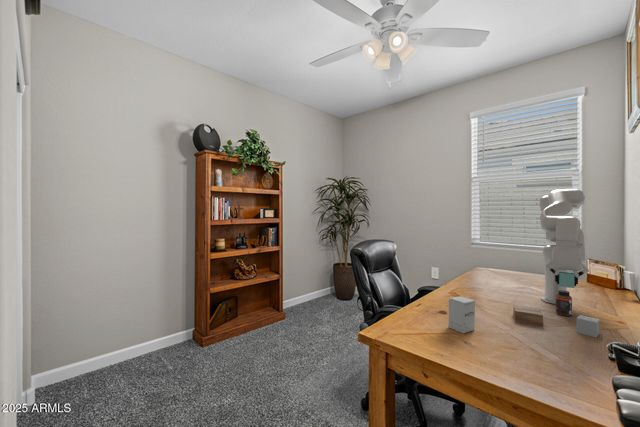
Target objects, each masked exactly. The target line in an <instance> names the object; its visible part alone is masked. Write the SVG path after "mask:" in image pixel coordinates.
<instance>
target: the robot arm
mask: <svg viewBox="0 0 640 427" xmlns="http://www.w3.org/2000/svg"><path fill="white" fill-rule="evenodd" d="M585 198H586V196H585V194H584V191H583V190H582V189H578V188H573V189H572V188H565V189H564V188H563V189H555V190H552V191H550V192H549V193H548V195H544V196H542V197H540V198H539V207H540V211H541V213H540V217H539V220H540V227H541V229H542V230H543V231H544V232H545V238H546V240H547V242H549V243H553V244H547V245H545V246H543V248H542V254H543V259H544V260H543V261H544V296H540V300H541V301H542V302H545V303H548V304H553V305H556V295H557V294H559V290H564V291H568V287H562V286H559V271H564V272H568V271H572V272H573V273H574V287H577V285H579V278H580V277H582V275H584V274H586V273H588V272H589V271H590V269H589V268H587V266H585V265H584V264H583V263H584V262H585V261H586V248H585V245H586V244H585V236H584V232H583V230H582V228H581V220H579V218H578V217H576V216H572V215H571V216H570V215H569V216H568V214H570V212H571V211H573V210H578V209H580V208H581V206H582V205H583V204H585V200H586V199H585ZM554 243H555V244H554Z"/></svg>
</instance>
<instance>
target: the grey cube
mask: <svg viewBox="0 0 640 427" xmlns="http://www.w3.org/2000/svg"><path fill="white" fill-rule="evenodd" d="M575 328H576V330H575V331H576V333H578V334H581V335H584V336H585V335H586V336H590V337H594V338H598V336H599V335H600V318H596V317H591V316H585V315H583V314H579V315H577V317H576V327H575Z"/></svg>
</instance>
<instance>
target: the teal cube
mask: <svg viewBox="0 0 640 427" xmlns="http://www.w3.org/2000/svg"><path fill="white" fill-rule="evenodd" d="M559 286H562V287H567V288H570V289H572V288H573V289H575V286H574V272H573V271H567V272H564V271H559Z"/></svg>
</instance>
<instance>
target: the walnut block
mask: <svg viewBox="0 0 640 427" xmlns="http://www.w3.org/2000/svg"><path fill="white" fill-rule="evenodd" d="M512 305H513V306H512V307H513V310H512V311H513V314H512V316H513V319H514V321H515V322H517V323H522V324H523V323H525V324H530V325H536V326H540V327H541V326H542V327H543V326H544V314H543V312H542V310H541V309H540V308H538V307H531V306H525V305H520V304H519V305H517V304H512Z"/></svg>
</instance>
